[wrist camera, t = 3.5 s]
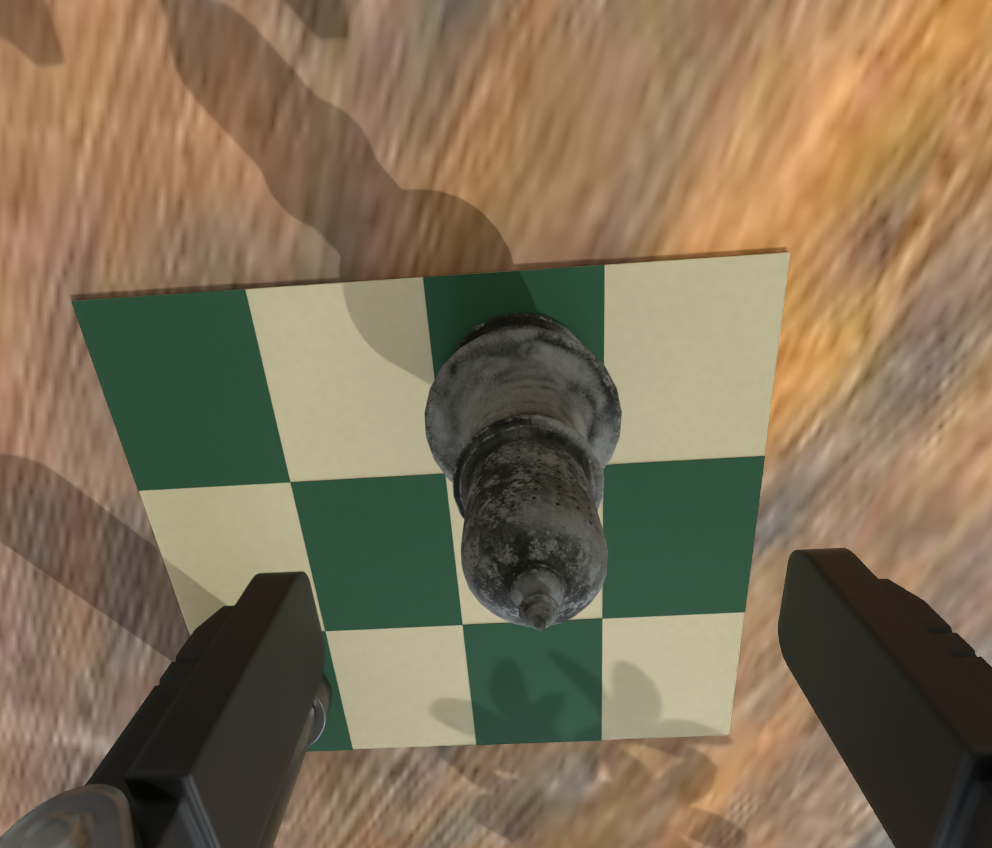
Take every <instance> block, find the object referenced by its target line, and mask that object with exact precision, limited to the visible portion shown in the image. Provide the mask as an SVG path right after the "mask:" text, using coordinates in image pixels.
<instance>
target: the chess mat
mask: <svg viewBox="0 0 992 848" xmlns="http://www.w3.org/2000/svg"><path fill="white" fill-rule="evenodd" d="M789 259H790V252H782V253H767V254H752V255H738V256H723V257H708V258H693V259H679V260H664V261H649V262H635V263H620V264H605V265H590V266H576V267H561V268H546V269H531V270H517V271H502V272H487V273H473V274H458V275H443V276H428V277H414V278H399V279H384V280H369V281H355V282H340V283H325V284H310V285H296V286H281V287H266V288H252V289H237V290H222V291H207V292H193V293H178V294H163V295H148V296H134V297H119V298H104V299H90V300H75V301H71V302H72V305H73V308H74V310H75V313H76V316H77V319H78V322H79V325H80V327H81V330H82V333H83V336H84V339H85V341H86V344H87V347H88V350H89V353H90V356H91V358H92V361H93V364H94V367H95V370H96V373H97V375H98V378H99V381H100V384H101V387H102V390H103V392H104V395H105V398H106V401H107V404H108V407H109V409H110V412H111V415H112V418H113V421H114V424H115V426H116V429H117V432H118V435H119V438H120V441H121V443H122V446H123V449H124V452H125V455H126V457H127V460H128V463H129V466H130V469H131V472H132V474H133V477H134V480H135V483H136V486H137V489H138V491H139V492H140V495H141V498H142V501H143V504H144V506H145V509H146V512H147V515H148V518H149V521H150V523H151V526H152V529H153V532H154V535H155V538H156V540H157V543H158V546H159V549H160V552H161V555H162V557H163V560H164V563H165V566H166V569H167V572H168V574H169V577H170V580H171V583H172V586H173V589H174V591H175V594H176V597H177V600H178V603H179V606H180V608H181V611H182V614H183V617H184V620H185V623H186V626H187V628H188V631H189V634H190V636H191V634H192V633H193V632H194V630H195V629H196V628H197V627H199V626H200V625H201V624H202V623H203V622H205V621H206V620H207V619H208V618H209V617H211V616H212V615H213V614H214V613H216V612H217V611H218V610H219V609H220V608H222V607H223V606H233V605H235V604H236V603H237V601H238V600H239V598H240V597H241V595H242V593H243V592H244V590H245V589H246V587H247V586H248V584H249V583H250V581H251V580H252V578H253V577H254V576H255V575H256V574H258V573H272V572H294V571H303V572H305V573H306V574H307V575H308V577H309V580H310V583H311V588H312V592H313V596H314V600H315V604H316V609H317V613H318V617H319V621H320V625H321V630H322V634H323V638H324V644H325V664H324V671H323V673H324V675H325V676H326V677H327V679H328V681H329V683H330V686H331V689H332V695H333V696H332V705H331V709H330V712H329V715H328V718H327V721H326V724H325V727H324V729H323V732H322V733H321V735H320V737H319V738H318V739H317V740H316V741H315V742H314V743H313V744H312V745H310V746H309V747H308V748H307V751H333V750H353V749H370V748H396V747H422V746H449V745H475V744H476V745H492V744H519V743H545V742H572V741H598V740H607V739H634V738H660V737H687V736H713V735H729V730H730V722H731V714H732V706H733V699H734V691H735V683H736V675H737V667H738V659H739V651H740V644H741V636H742V628H743V620H744V612H745V608H746V600H747V592H748V584H749V576H750V569H751V561H752V553H753V545H754V537H755V529H756V522H757V514H758V506H759V498H760V490H761V482H762V475H763V467H764V459H765V456H764V455H765V447H766V440H767V432H768V424H769V416H770V408H771V400H772V392H773V385H774V377H775V369H776V361H777V353H778V345H779V337H780V330H781V322H782V314H783V306H784V298H785V290H786V283H787V275H788V267H789ZM508 313H533V314H536V315H540V316H544V317H548V318H551V319H552V320H554V321H556V322H558V323H559V324H561V325H563V326H565V327H566V328H568V329H569V330H570V331H571V332H572V333H573V335H574V336H575V337H576V338H577V339H578V340H579V341H580V342H581V343H582V345H584V346H586V347H587V348H588V349H589V350H590V351H591V352H592V353H593V354H594V355H595V356H596V357H597V358H598V359H599V360H600V361H601V362H602V363H603V364H604V365H605V367H606V369H607V371H608V373H609V374H610V376H611V378H612V380H613V382H614V384H615V386H616V387H617V391H618V396H619V401H620V405H621V410H622V417H621V429H620V437H619V440H618V442H617V445H616V448H615V450H614V453H613V456H612V458H611V460H610V461H609V463H608V464H607V465H606V467H605V468H604V470H603V475H604V491H603V498H602V501H601V504H600V506H599V509H598V515H599V518H600V521H601V525H602V528H603V531H604V535H605V539H606V543H607V547H608V559H607V573H606V578H605V580H604V583H603V585H602V588H601V591H600V592H599V593H598V594H597V596H596V597H595V598H594V600H593V601H592V602H591V604H589V605H588V606H587V607H586V608H585V609H583V610H582V611H581V612H579V613H578V614H577V615H576V616H574V617H573V618H571V619H569V620H566V621H564V622H562V623H560V624H555V625H551V626H549V627H547V628H545V629H544V630H542V631H538V630H537V629H534V628H532V627H526V626H522V625H517V624H513V623H510V622H508V621H506V620H504V619H502V618H500V617H498V616H496V615H494V614H493V613H491V612H490V611H489V610H488V609H486V608H485V607H484V606H483V605H481V604H480V603H479V602H478V600H477V599H476V598H475V596H474V595H473V594H472V592H471V591H470V590H469V587H468V584H467V582H466V579H465V576H464V573H463V569H462V564H461V542H462V534H463V525H464V519H463V517H462V516H461V514H460V513H459V510H458V507H457V505H456V502H455V499H454V496H453V483H452V482H451V481H450V480H449V479H448V478H447V477H446V476H445V474H444V473H443V471H442V470H441V469H440V467H439V466H438V464H437V463H436V461H435V460H434V458H433V455H432V453H431V450H430V447H429V444H428V441H427V439H426V431H425V415H424V413H425V408H426V404H427V399H428V395H429V390H430V388H431V386H432V384H433V382H434V380H435V378H436V377H437V375H438V373H439V371H440V369H441V367H442V366H443V365H444V364H445V363H446V362H447V361H448V360H449V359H450V358H451V356H452V355H453V353H454V351H455V349H456V347H457V346H458V344H459V342H460V341H461V340H462V339H463V338H464V337H465V336H466V335H467V334H468V333H469V332H470V331H471V330H472V329H473V328H475V327H476V326H478V325H480V324H481V323H483V322H485V321H487V320H488V319H490V318H493V317H497V316H501V315H504V314H508ZM307 751H306V752H307Z"/></svg>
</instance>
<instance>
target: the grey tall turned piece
mask: <svg viewBox="0 0 992 848" xmlns="http://www.w3.org/2000/svg"><path fill="white" fill-rule="evenodd" d="M424 415H425V431H426V439H427V441H428V444H429V447H430V450H431V453H432V455H433V458H434V460H435V461H436V463H437V464H438V466H439V467H440V469H441V470H442V471H443V473H444V474H445V476H446V477H447V478H448V479H449V480H450V481H451V482H452V483H453V496H454V499H455V502H456V505H457V507H458V510H459V513H460V514H461V516H462V517H463V519H464V525H463V534H462V542H461V564H462V569H463V573H464V576H465V579H466V582H467V584H468V587H469V590H470V591H471V592H472V594H473V595H474V596H475V598H476V599H477V600H478V602H479V603H480V604H481V605H483V606H484V607H485V608H486V609H488V610H489V611H490V612H491V613H493V614H494V615H496V616H498V617H500V618H502V619H504V620H506V621H508V622H510V623H513V624H517V625H522V626H526V627H532V628H534V629H537V630H538V631H542V630H544V629H545V628H547V627H549V626H551V625H555V624H560V623H562V622H564V621H566V620H569V619H571V618H573V617H574V616H576V615H577V614H578V613H579V612H581V611H582V610H583V609H585V608H586V607H587V606H588V605H589V604H591V602H592V601H593V600H594V598H595V597H596V596H597V594H598V593H599V592H600V591H601V588H602V585H603V583H604V580H605V578H606V573H607V559H608V547H607V543H606V539H605V535H604V531H603V528H602V525H601V521H600V518H599V515H598V509H599V506H600V504H601V501H602V498H603V491H604V475H603V470H604V468H605V467H606V465H607V464H608V463H609V461H610V460H611V458H612V456H613V453H614V450H615V448H616V445H617V442H618V440H619V437H620V429H621V417H622V410H621V405H620V401H619V396H618V391H617V387H616V386H615V384H614V382H613V380H612V378H611V376H610V374H609V373H608V371H607V369H606V367H605V365H604V364H603V363H602V362H601V361H600V360H599V359H598V358H597V357H596V356H595V355H594V354H593V353H592V352H591V351H590V350H589V349H588V348H587V347H586V346H584V345H582V343H581V342H580V341H579V340H578V339H577V338H576V337H575V336H574V335H573V333H572V332H571V331H570V330H569V329H568V328H566V327H565V326H563V325H561V324H559V323H558V322H556V321H554V320H552V319H551V318H548V317H544V316H540V315H536V314H533V313H508V314H504V315H501V316H497V317H493V318H490V319H488V320H487V321H485V322H483V323H481V324H480V325H478V326H476V327H475V328H473V329H472V330H471V331H470V332H469V333H468V334H467V335H466V336H465V337H464V338H463V339H462V340H461V341H460V342H459V344H458V346H457V347H456V349H455V351H454V353H453V355H452V356H451V358H450V359H449V360H448V361H447V362H446V363H445V364H444V365H443V366H442V367H441V369H440V371H439V373H438V375H437V377H436V378H435V380H434V382H433V384H432V386H431V388H430V390H429V395H428V399H427V404H426V408H425V413H424Z"/></svg>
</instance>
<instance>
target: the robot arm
mask: <svg viewBox="0 0 992 848" xmlns="http://www.w3.org/2000/svg"><path fill="white" fill-rule="evenodd" d="M778 636H779V643H780V647H781V651H782V654H783V657H784V659H785V662H786V664H787V665H788V667H789V669H790V671H791V672H792V674H793V676H794V677H795V679H796V681H797V682H798V684H799V686H800V688H801V689H802V691H803V693H804V694H805V696H806V698H807V699H808V701H809V703H810V704H811V706H812V708H813V709H814V711H815V713H816V715H817V716H818V718H819V720H820V721H821V723H822V725H823V726H824V728H825V730H826V731H827V733H828V735H829V736H830V738H831V740H832V741H833V743H834V745H835V747H836V748H837V750H838V752H839V753H840V755H841V757H842V758H843V760H844V762H845V763H846V765H847V767H848V768H849V770H850V772H851V774H852V775H853V777H854V779H855V780H856V782H857V784H858V785H859V787H860V789H861V790H862V792H863V794H864V795H865V797H866V799H867V801H868V802H869V804H870V806H871V807H872V809H873V811H874V812H875V814H876V816H877V817H878V819H879V821H880V822H881V824H882V826H883V828H884V829H885V831H886V833H887V834H888V836H889V838H890V839H891V841H892V843H893V844H894V846H895V848H992V667H991V666H990V665H989V664H988V663H987V662H986V661H985V660H984V659H983V658H982V657H977V656H976V655H975V650H974V649H973V648H972V647H971V646H970V645H969V644H968V643H967V642H966V641H965V640H964V639H962V638H961V637H960V636H959V635H958V634H957V633H953V632H952V630H951V627H950V626H949V625H948V624H947V623H946V622H945V621H944V620H943V619H942V618H941V617H940V616H939V615H938V614H937V613H936V612H935V611H934V610H933V609H932V608H931V607H930V606H929V605H928V604H927V603H926V602H925V601H924V600H922V599H920V598H919V597H917V596H915V595H914V594H912V593H910V592H909V591H907V590H905V589H904V588H902V587H900V586H899V585H897V584H895V583H894V582H892V581H890V580H889V579H878V578H877V577H876V576H875V575H874V574H873V573H872V572H871V571H870V570H869V569H868V568H867V567H866V566H865V565H864V564H863V563H862V562H861V561H860V560H859V559H858V557H857V556H856V555H855V554H854V553H852V552H851V551H850V550H848V549H846V548H829V549H807V550H795V551H793V552H792V554H791V555H790V557H789V561H788V566H787V572H786V578H785V585H784V591H783V597H782V603H781V609H780V615H779V622H778ZM324 664H325V644H324V638H323V634H322V630H321V625H320V621H319V617H318V613H317V609H316V604H315V600H314V596H313V592H312V588H311V583H310V580H309V577H308V575H307V574H306V573H305V572H303V571H294V572H272V573H258V574H256V575H255V576H254V577H253V578H252V580H251V581H250V583H249V584H248V586H247V587H246V589H245V590H244V592H243V593H242V595H241V597H240V598H239V600H238V601H237V603H236V604H235V605H233V606H223V607H222V608H220V609H219V610H218V611H217V612H216V613H214V614H213V615H212V616H211V617H209V618H208V619H207V620H206V621H205V622H203V623H202V624H201V625H200V626H199V627H197V628H196V629H195V630H194V632H193V633H192V634H191V636H190V637H189V639H188V640H187V642H186V643H185V644H184V646H183V647H182V649H181V650H180V651H179V653H178V654H177V656H176V661H175V662H172V663H171V664H170V666H169V667H168V668H167V670H166V671H165V673H164V674H163V676H162V677H161V678H160V684H159V686H155V687H154V688H153V690H152V691H151V693H150V694H149V695H148V697H147V698H146V700H145V701H144V703H143V704H142V705H141V707H140V708H139V710H138V711H137V712H136V714H135V715H134V717H133V718H132V720H131V721H130V722H129V724H128V725H127V727H126V728H125V730H124V731H123V732H122V734H121V735H120V737H119V738H118V739H117V741H116V742H115V744H114V745H113V747H112V748H111V749H110V751H109V752H108V754H107V755H106V756H105V758H104V759H103V761H102V762H101V764H100V765H99V766H98V768H97V769H96V771H95V772H94V774H93V775H92V776H91V778H90V779H89V780H88V782H87V783H86V784H85V786H81V787H77V788H74V789H71V790H68V791H66V792H64V793H61V794H59V795H57V796H55V797H53V798H51V799H49V800H48V801H46V802H44V803H42V804H41V805H39V806H38V807H36V808H35V809H33V810H32V811H30V812H29V813H27V814H26V815H25V816H24V817H23V818H21V819H20V820H19V821H18V822H16V823H15V824H14V825H13V826H12V827H11V828H10V829H9V830H8V831H7V832H6V833H4V834H3V836H2V837H1V838H0V848H259V845H260V843H261V840H262V837H263V834H264V832H265V829H266V826H267V824H268V821H269V818H270V816H271V813H272V810H273V808H274V805H275V802H276V800H277V797H278V794H279V792H280V789H281V786H282V784H283V781H284V778H285V776H286V773H287V770H288V768H289V765H290V762H291V760H292V757H293V754H294V752H295V749H296V746H297V744H298V741H299V738H300V736H301V733H302V730H303V728H304V725H305V722H306V720H307V717H308V714H309V712H310V709H311V706H312V704H313V701H314V698H315V696H316V693H317V690H318V688H319V685H320V682H321V679H322V675H323V671H324Z"/></svg>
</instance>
